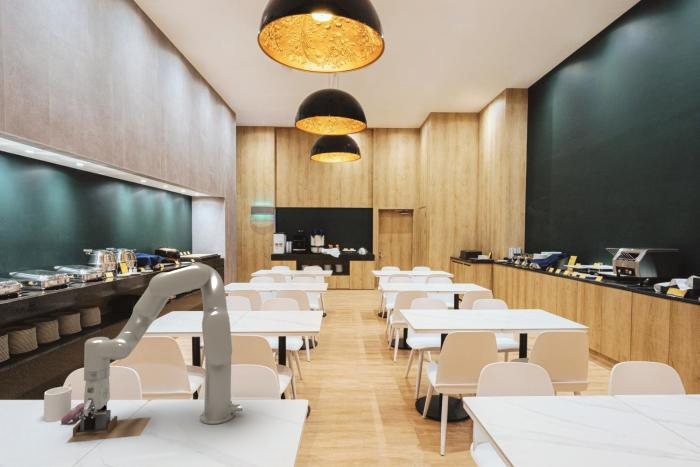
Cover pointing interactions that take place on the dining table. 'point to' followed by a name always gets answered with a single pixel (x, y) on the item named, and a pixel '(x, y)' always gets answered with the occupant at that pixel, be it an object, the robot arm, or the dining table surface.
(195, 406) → the dining table surface
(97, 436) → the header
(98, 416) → the dark grey box
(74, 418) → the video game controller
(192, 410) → the dining table surface
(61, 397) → the cup
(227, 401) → the robot arm
